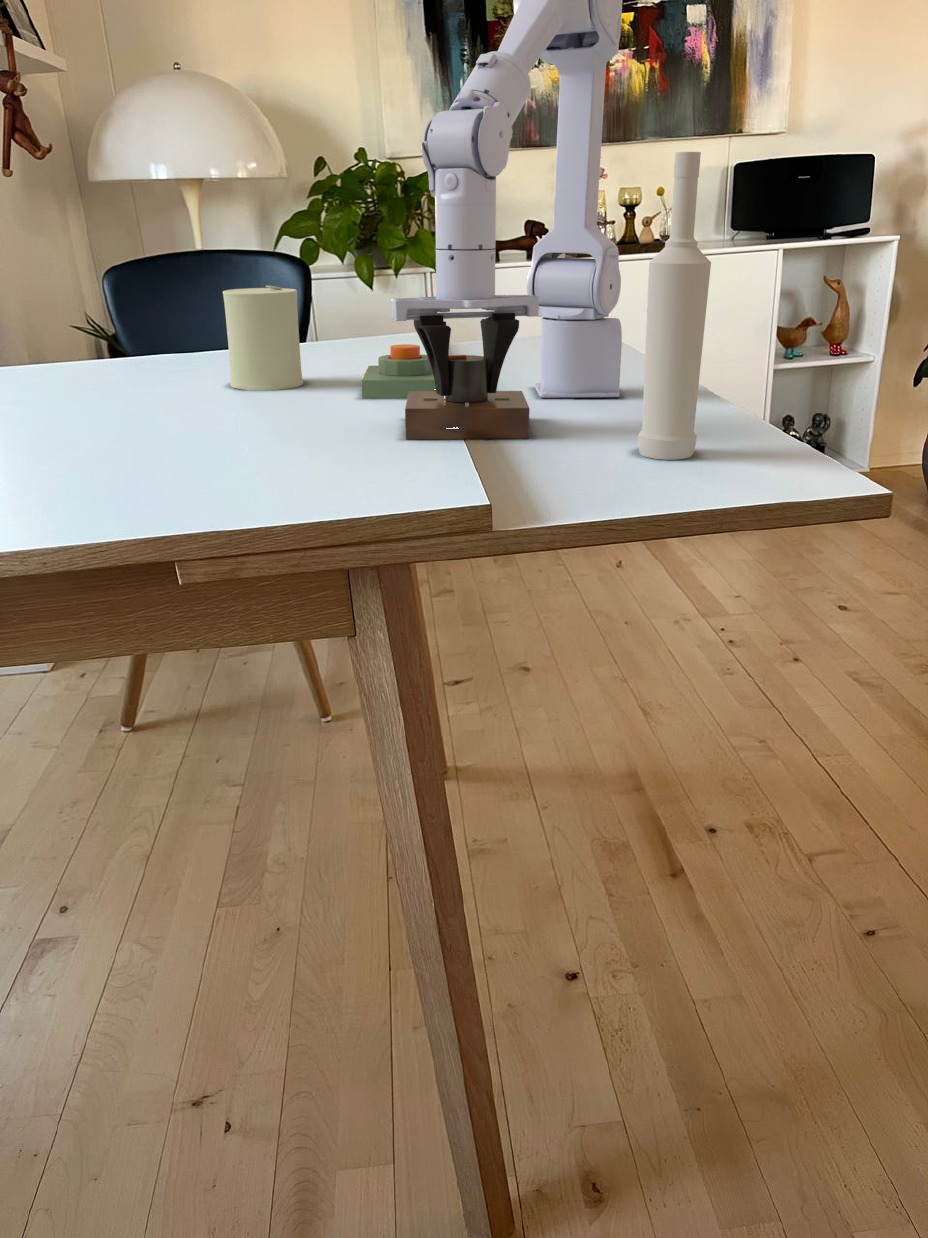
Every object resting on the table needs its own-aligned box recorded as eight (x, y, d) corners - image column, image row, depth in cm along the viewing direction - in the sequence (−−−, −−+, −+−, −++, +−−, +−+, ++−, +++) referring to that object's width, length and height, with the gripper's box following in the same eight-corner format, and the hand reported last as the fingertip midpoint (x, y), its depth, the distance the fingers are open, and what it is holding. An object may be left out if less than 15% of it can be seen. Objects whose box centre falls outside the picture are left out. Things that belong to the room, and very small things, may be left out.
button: (420, 358, 125) (420, 344, 125) (419, 362, 122) (419, 347, 121) (391, 358, 125) (390, 344, 125) (389, 362, 122) (389, 347, 121)
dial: (480, 393, 104) (480, 351, 103) (493, 401, 100) (494, 356, 99) (439, 396, 103) (439, 353, 101) (450, 403, 99) (450, 358, 98)
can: (317, 381, 131) (311, 284, 127) (276, 392, 124) (269, 289, 119) (258, 377, 135) (251, 282, 130) (215, 387, 127) (206, 287, 123)
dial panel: (521, 418, 108) (522, 388, 106) (528, 438, 98) (529, 406, 97) (409, 419, 107) (408, 389, 106) (405, 439, 98) (404, 406, 97)
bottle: (683, 462, 89) (707, 149, 79) (628, 455, 91) (646, 151, 82) (703, 451, 93) (729, 152, 83) (650, 445, 95) (669, 154, 86)
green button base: (446, 382, 131) (446, 350, 129) (446, 398, 119) (446, 363, 118) (369, 382, 130) (367, 351, 129) (362, 398, 119) (360, 364, 118)
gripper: (402, 251, 91) (406, 403, 96) (551, 249, 95) (547, 395, 100) (384, 249, 97) (388, 391, 102) (525, 247, 101) (522, 384, 106)
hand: (465, 393), depth 101 cm, fingers closed on dial, 4 cm apart
